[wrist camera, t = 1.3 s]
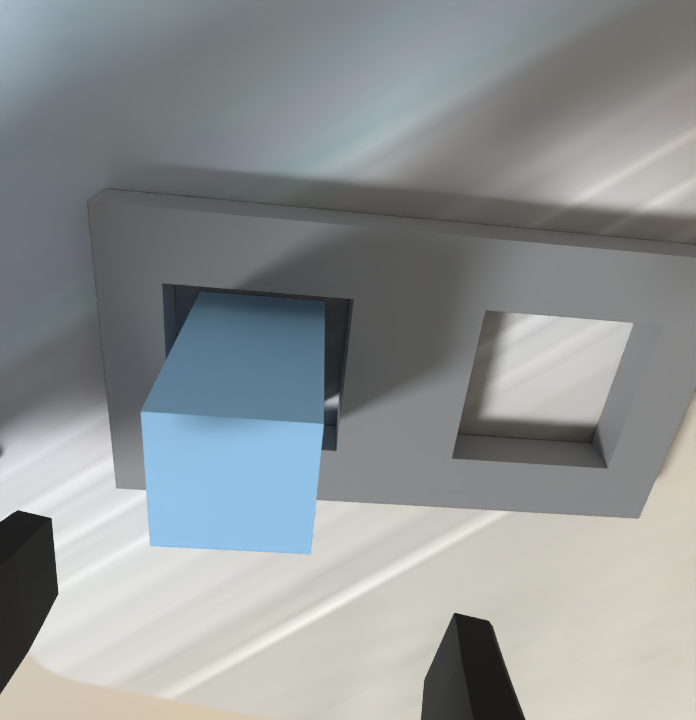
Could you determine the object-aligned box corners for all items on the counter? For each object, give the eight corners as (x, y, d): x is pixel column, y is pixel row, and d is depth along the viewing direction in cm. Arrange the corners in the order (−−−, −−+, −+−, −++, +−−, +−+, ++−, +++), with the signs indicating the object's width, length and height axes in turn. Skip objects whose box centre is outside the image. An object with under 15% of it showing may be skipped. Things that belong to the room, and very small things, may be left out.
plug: (315, 405, 21) (310, 554, 15) (201, 397, 21) (149, 546, 15) (324, 301, 20) (323, 423, 13) (200, 291, 19) (140, 411, 13)
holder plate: (621, 491, 24) (638, 518, 22) (128, 461, 22) (116, 488, 21) (721, 246, 19) (750, 262, 18) (105, 188, 18) (87, 200, 16)
